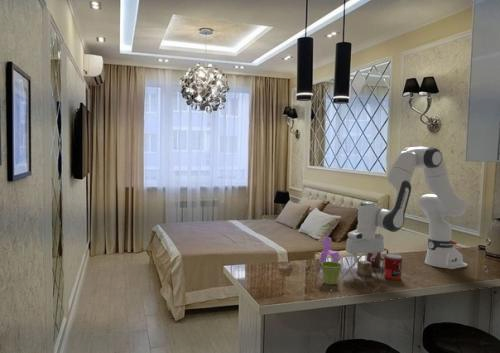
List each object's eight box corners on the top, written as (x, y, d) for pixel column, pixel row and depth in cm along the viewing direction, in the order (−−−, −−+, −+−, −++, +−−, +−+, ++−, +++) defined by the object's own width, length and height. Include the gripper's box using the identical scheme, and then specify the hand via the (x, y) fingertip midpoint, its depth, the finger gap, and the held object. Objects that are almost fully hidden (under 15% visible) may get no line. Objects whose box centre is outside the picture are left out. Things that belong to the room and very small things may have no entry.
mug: (366, 267, 207) (367, 248, 207) (363, 263, 216) (364, 244, 215) (389, 268, 206) (390, 249, 206) (385, 264, 215) (386, 245, 214)
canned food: (393, 281, 185) (394, 258, 185) (380, 276, 192) (381, 254, 192) (404, 279, 189) (405, 256, 188) (391, 274, 196) (392, 253, 195)
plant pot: (337, 287, 174) (337, 268, 173) (317, 283, 179) (317, 264, 178) (343, 282, 182) (344, 263, 181) (324, 278, 187) (325, 260, 186)
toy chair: (330, 268, 204) (331, 239, 203) (317, 264, 211) (318, 237, 210) (340, 265, 210) (341, 238, 209) (327, 262, 216) (328, 235, 215)
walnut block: (365, 272, 199) (366, 260, 199) (371, 274, 194) (371, 263, 194) (357, 272, 198) (357, 261, 197) (362, 275, 193) (363, 263, 193)
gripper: (379, 232, 201) (378, 259, 201) (344, 233, 195) (343, 260, 195) (387, 234, 195) (385, 262, 195) (351, 235, 189) (350, 263, 189)
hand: (364, 261), depth 195 cm, fingers open, 8 cm apart
